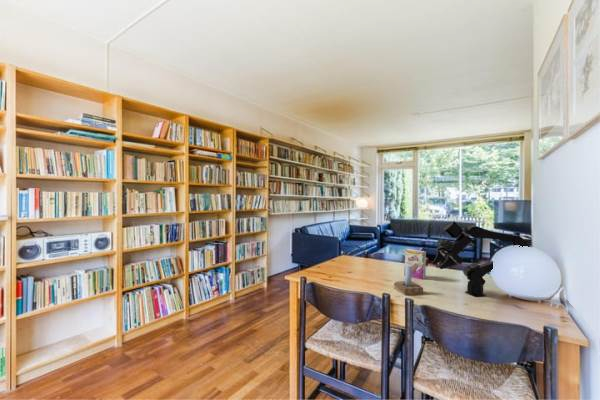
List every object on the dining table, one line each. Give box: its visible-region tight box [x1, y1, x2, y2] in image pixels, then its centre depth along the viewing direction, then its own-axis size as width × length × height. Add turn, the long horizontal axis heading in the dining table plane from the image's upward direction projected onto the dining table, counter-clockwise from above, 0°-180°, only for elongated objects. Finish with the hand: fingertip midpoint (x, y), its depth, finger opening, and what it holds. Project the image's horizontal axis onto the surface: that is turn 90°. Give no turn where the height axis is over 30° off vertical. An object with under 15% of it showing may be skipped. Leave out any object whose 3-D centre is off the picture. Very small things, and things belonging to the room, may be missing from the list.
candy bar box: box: [404, 248, 427, 280], centre depth 168 cm, size 11×5×16 cm, turn 47°
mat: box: [395, 280, 422, 287], centre depth 155 cm, size 10×10×1 cm
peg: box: [404, 265, 412, 287], centre depth 143 cm, size 3×3×13 cm
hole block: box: [393, 281, 424, 296], centre depth 143 cm, size 10×10×4 cm
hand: (436, 266), depth 142 cm, fingers open, 9 cm apart
